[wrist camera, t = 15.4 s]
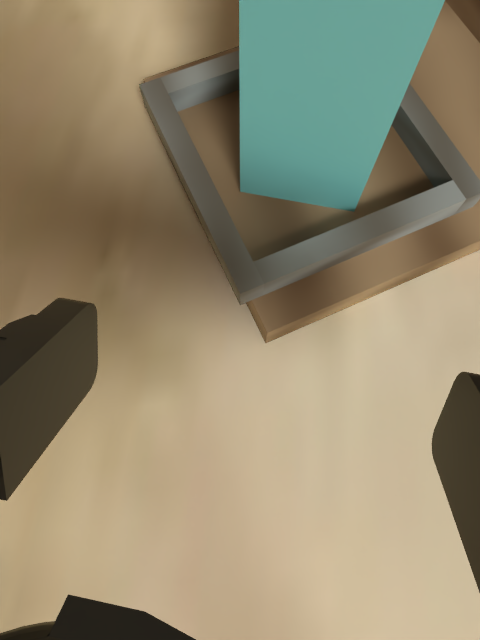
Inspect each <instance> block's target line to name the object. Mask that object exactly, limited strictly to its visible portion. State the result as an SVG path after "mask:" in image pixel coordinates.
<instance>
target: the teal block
mask: <svg viewBox="0 0 480 640" xmlns="http://www.w3.org/2000/svg"><path fill="white" fill-rule="evenodd" d="M444 2H445V0H239V71H240V192H245V193H251V194H256V195H262V196H268V197H273V198H279V199H285V200H290V201H296V202H302V203H307V204H313V205H319V206H324V207H330V208H336V209H341V210H347V211H353V212H354V211H355V208H356V206H357V204H358V201H359V199H360V197H361V194H362V192H363V190H364V187H365V185H366V183H367V180H368V178H369V176H370V174H371V171H372V169H373V167H374V164H375V162H376V160H377V157H378V155H379V153H380V150H381V148H382V146H383V143H384V141H385V139H386V136H387V134H388V132H389V129H390V127H391V125H392V122H393V120H394V118H395V115H396V113H397V111H398V109H399V106H400V104H401V102H402V99H403V97H404V95H405V92H406V90H407V88H408V85H409V83H410V81H411V78H412V76H413V74H414V71H415V69H416V67H417V64H418V62H419V60H420V57H421V55H422V53H423V50H424V48H425V46H426V44H427V41H428V39H429V37H430V34H431V32H432V30H433V27H434V25H435V23H436V20H437V18H438V16H439V13H440V11H441V9H442V6H443V4H444Z"/></svg>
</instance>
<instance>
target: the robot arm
mask: <svg viewBox="0 0 480 640" xmlns="http://www.w3.org/2000/svg"><path fill="white" fill-rule="evenodd" d="M97 366H98V342H97V310H96V307H95V305H94V304H92V303H87V302H81V301H76V300H70V299H65V298H58V299H56V300H55V301H53V302H52V303H51V304H50V305H48V306H47V307H46V308H45V309H43V310H42V311H41V312H40V313H38V314H37V315H29V316H27V317H24V318H21V319H19V320H16V321H13V322H11V323H9V324H7V325H6V326H5V327H3V328H2V329H1V330H0V499H1V500H6V501H7V500H8V499H9V497H10V496H11V495H12V493H13V492H14V491H15V489H16V488H17V487H18V485H19V484H20V483H21V481H22V480H23V479H24V477H25V476H26V475H27V473H28V472H29V471H30V469H31V468H32V467H33V465H34V464H35V463H36V461H37V460H38V459H39V457H40V456H41V455H42V453H43V452H44V451H45V449H46V448H47V447H48V445H49V444H50V443H51V441H52V440H53V439H54V437H55V436H56V435H57V433H58V432H59V431H60V429H61V428H62V427H63V425H64V424H65V423H66V421H67V420H68V419H69V417H70V416H71V415H72V413H73V412H74V411H75V409H76V408H77V407H78V405H79V404H80V403H81V401H82V400H83V399H84V397H85V396H86V395H87V393H88V392H89V390H90V389H91V387H92V385H93V383H94V380H95V377H96V373H97ZM432 454H433V459H434V462H435V464H436V467H437V470H438V473H439V476H440V479H441V482H442V485H443V488H444V491H445V493H446V496H447V499H448V502H449V505H450V508H451V511H452V514H453V517H454V520H455V522H456V525H457V528H458V531H459V534H460V537H461V540H462V543H463V546H464V549H465V551H466V554H467V557H468V560H469V563H470V566H471V569H472V572H473V575H474V578H475V580H476V583H477V586H478V589H479V592H480V375H479V374H474V373H468V372H461V373H460V374H459V375H458V376H457V377H456V379H455V381H454V383H453V386H452V388H451V390H450V393H449V395H448V398H447V400H446V402H445V405H444V407H443V410H442V412H441V414H440V417H439V419H438V422H437V424H436V427H435V429H434V433H433V438H432ZM0 640H196V639H194V638H192V637H190V636H188V635H186V634H185V633H183V632H181V631H179V630H177V629H175V628H174V627H172V626H170V625H168V624H166V623H165V622H163V621H161V620H159V619H157V618H155V617H154V616H152V615H150V614H148V613H146V612H144V611H139V610H135V609H130V608H126V607H121V606H117V605H113V604H108V603H104V602H99V601H95V600H90V599H86V598H81V597H77V596H72V595H68V596H67V598H66V600H65V602H64V605H63V607H62V609H61V611H60V613H59V615H58V617H57V619H56V621H54V622H44V623H38V624H33V625H28V626H23V627H20V628H16V629H13V630H10V631H7V632H3V633H0Z"/></svg>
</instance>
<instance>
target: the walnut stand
mask: <svg viewBox="0 0 480 640" xmlns="http://www.w3.org/2000/svg"><path fill="white" fill-rule="evenodd" d="M139 86H140V90H141V94H142V97H143V101H144V105H145V107H146V109H147V111H148V113H149V115H150V118H151V120H152V122H153V124H154V126H155V128H156V130H157V132H158V134H159V136H160V138H161V140H162V143H163V145H164V147H165V149H166V151H167V153H168V155H169V157H170V159H171V161H172V163H173V166H174V168H175V170H176V172H177V174H178V176H179V178H180V180H181V182H182V184H183V186H184V189H185V191H186V193H187V195H188V197H189V199H190V201H191V203H192V205H193V207H194V209H195V212H196V214H197V216H198V218H199V220H200V222H201V224H202V226H203V228H204V230H205V232H206V234H207V237H208V239H209V241H210V243H211V245H212V247H213V249H214V251H215V253H216V255H217V257H218V260H219V262H220V264H221V266H222V268H223V270H224V272H225V274H226V276H227V278H228V280H229V283H230V285H231V287H232V289H233V291H234V293H235V295H236V297H237V299H238V301H239V303H240V305H242V304H244V303H246V304H247V306H248V308H249V310H250V312H251V314H252V316H253V318H254V320H255V322H256V324H257V326H258V328H259V330H260V332H261V335H262V337H263V339H264V341H265V343H267V342H269V341H272V340H274V339H276V338H279V337H281V336H283V335H285V334H288V333H290V332H292V331H295V330H297V329H299V328H301V327H304V326H306V325H308V324H311V323H313V322H315V321H317V320H320V319H322V318H324V317H327V316H329V315H331V314H333V313H336V312H338V311H340V310H343V309H345V308H347V307H350V306H352V305H354V304H356V303H359V302H361V301H363V300H366V299H368V298H370V297H372V296H375V295H377V294H379V293H382V292H384V291H386V290H388V289H391V288H393V287H395V286H398V285H400V284H402V283H404V282H407V281H409V280H411V279H414V278H416V277H418V276H420V275H423V274H425V273H427V272H430V271H432V270H434V269H436V268H439V267H441V266H443V265H446V264H448V263H450V262H453V261H455V260H457V259H459V258H462V257H464V256H466V255H469V254H471V253H473V252H475V251H478V250H480V0H445V2H444V4H443V6H442V9H441V11H440V13H439V16H438V18H437V20H436V23H435V25H434V27H433V30H432V32H431V34H430V37H429V39H428V41H427V44H426V46H425V48H424V50H423V53H422V55H421V57H420V60H419V62H418V64H417V67H416V69H415V71H414V74H413V76H412V78H411V81H410V83H409V85H408V88H407V90H406V92H405V95H404V97H403V99H402V102H401V104H400V106H399V109H398V111H397V113H396V115H395V118H394V120H393V122H392V125H391V127H390V129H389V132H388V134H387V136H386V139H385V141H384V143H383V146H382V148H381V150H380V153H379V155H378V157H377V160H376V162H375V164H374V167H373V169H372V171H371V174H370V176H369V178H368V180H367V183H366V185H365V187H364V190H363V192H362V194H361V197H360V199H359V201H358V204H357V206H356V208H355V211H354V212H353V211H347V210H341V209H336V208H330V207H324V206H319V205H313V204H307V203H302V202H296V201H290V200H285V199H279V198H273V197H268V196H262V195H256V194H251V193H245V192H240V71H239V46H238V47H235V48H233V49H230V50H227V51H224V52H221V53H218V54H215V55H212V56H209V57H206V58H203V59H200V60H198V61H195V62H192V63H189V64H186V65H183V66H180V67H177V68H174V69H171V70H168V71H165V72H163V73H160V74H157V75H154V76H151V77H148V78H145V79H144V83H142V84H139Z"/></svg>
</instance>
